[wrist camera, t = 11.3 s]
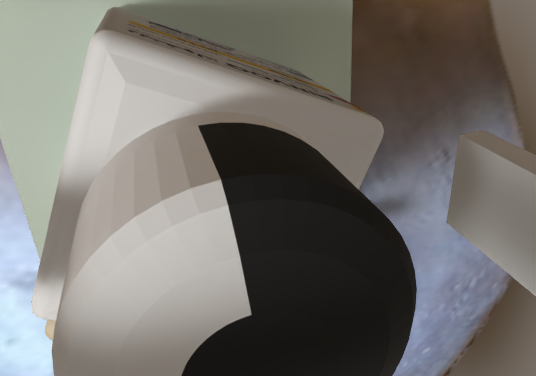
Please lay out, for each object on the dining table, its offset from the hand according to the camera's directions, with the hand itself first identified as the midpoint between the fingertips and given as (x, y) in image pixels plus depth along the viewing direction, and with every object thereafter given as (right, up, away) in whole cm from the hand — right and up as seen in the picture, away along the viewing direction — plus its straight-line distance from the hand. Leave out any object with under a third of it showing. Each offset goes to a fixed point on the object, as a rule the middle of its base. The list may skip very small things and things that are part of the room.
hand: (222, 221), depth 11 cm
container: (-2, +3, +8) cm, 9 cm away
